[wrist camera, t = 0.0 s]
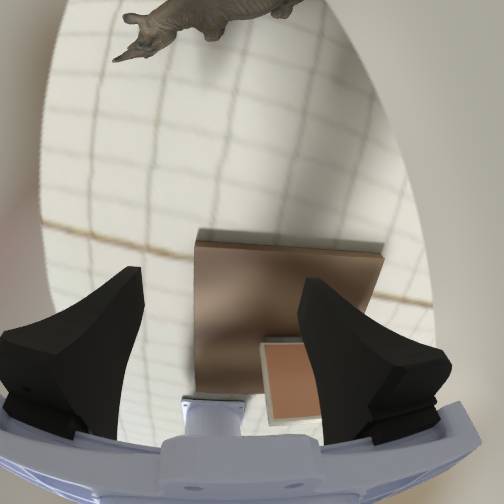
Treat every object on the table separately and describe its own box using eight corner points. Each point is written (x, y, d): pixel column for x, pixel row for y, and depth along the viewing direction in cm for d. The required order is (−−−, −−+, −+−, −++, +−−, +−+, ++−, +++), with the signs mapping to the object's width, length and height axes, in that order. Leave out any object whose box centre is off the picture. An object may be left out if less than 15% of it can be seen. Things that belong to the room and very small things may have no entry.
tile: (362, 415, 20) (366, 410, 19) (268, 426, 19) (270, 421, 18) (339, 346, 26) (342, 340, 26) (259, 348, 25) (260, 341, 25)
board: (326, 383, 32) (330, 395, 31) (196, 385, 30) (195, 398, 29) (379, 253, 24) (389, 264, 22) (195, 240, 22) (193, 252, 20)
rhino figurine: (115, 44, 14) (79, 26, 9) (290, -27, 13) (310, -64, 7) (137, 86, 16) (103, 79, 11) (314, 13, 15) (345, -16, 9)
